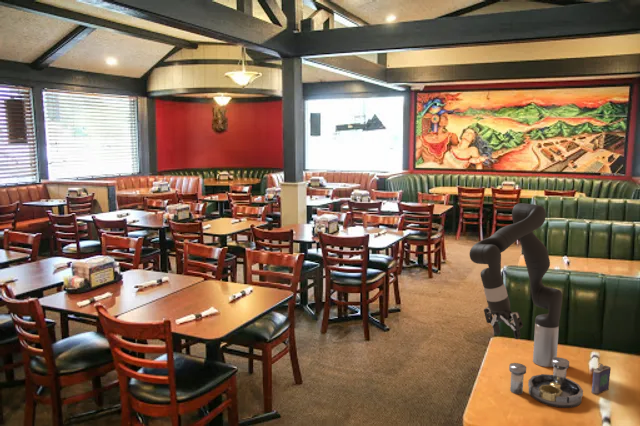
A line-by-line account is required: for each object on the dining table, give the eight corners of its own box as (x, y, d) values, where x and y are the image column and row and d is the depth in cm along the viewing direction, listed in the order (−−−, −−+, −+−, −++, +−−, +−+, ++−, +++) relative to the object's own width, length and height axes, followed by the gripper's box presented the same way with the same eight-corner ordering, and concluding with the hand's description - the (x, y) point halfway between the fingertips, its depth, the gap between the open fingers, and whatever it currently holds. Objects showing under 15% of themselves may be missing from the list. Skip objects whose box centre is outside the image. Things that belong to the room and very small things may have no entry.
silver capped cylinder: (511, 385, 197) (512, 361, 196) (527, 390, 194) (528, 366, 192) (505, 391, 193) (506, 366, 192) (521, 396, 189) (523, 371, 188)
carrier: (537, 379, 203) (539, 351, 201) (587, 394, 191) (589, 363, 189) (521, 396, 189) (523, 366, 187) (573, 413, 177) (575, 381, 176)
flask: (596, 395, 190) (598, 368, 188) (588, 392, 192) (590, 365, 191) (610, 389, 195) (612, 362, 193) (602, 386, 197) (604, 360, 196)
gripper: (519, 293, 178) (530, 334, 181) (487, 288, 190) (497, 327, 193) (507, 303, 174) (518, 345, 177) (474, 298, 186) (485, 336, 189)
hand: (507, 335), depth 185 cm, fingers open, 8 cm apart
